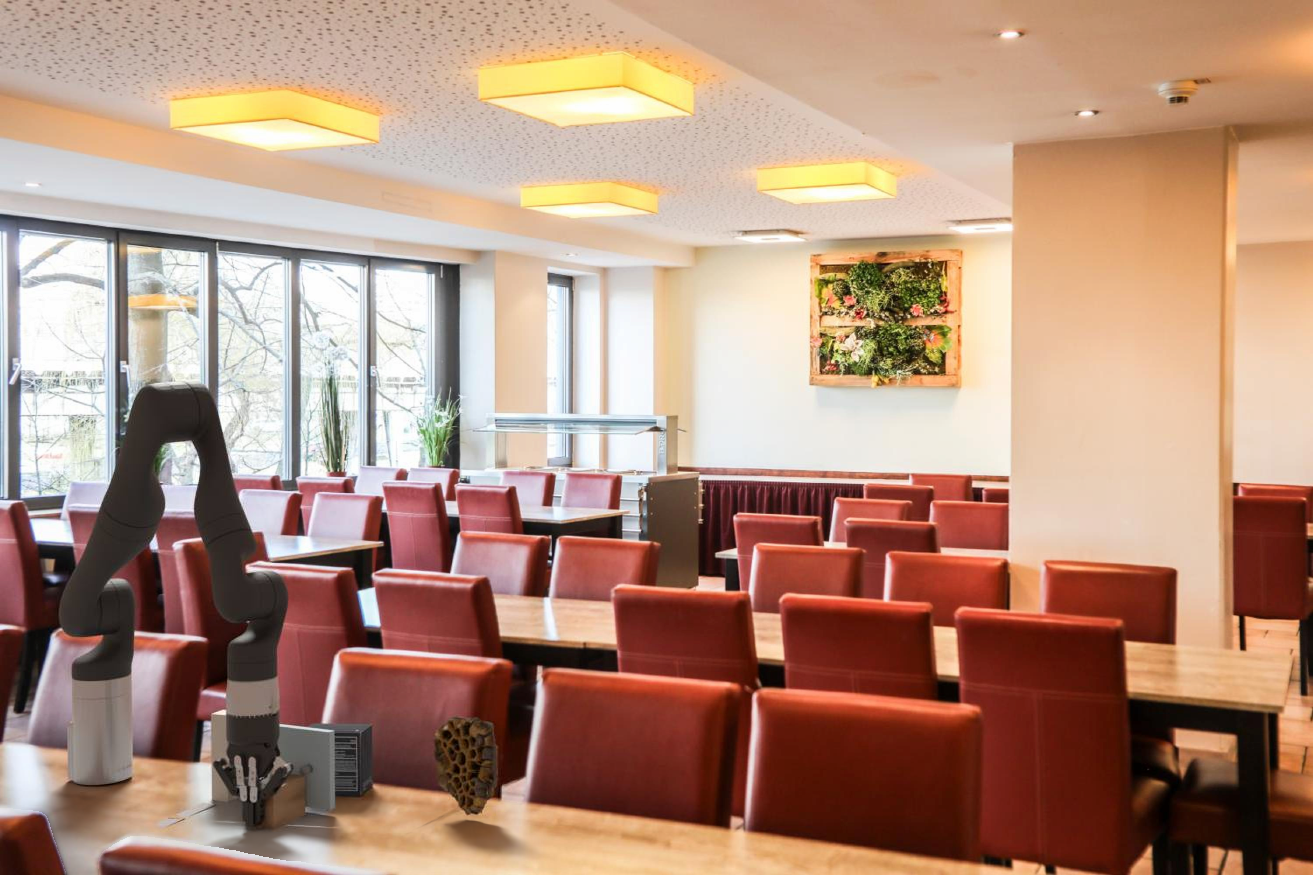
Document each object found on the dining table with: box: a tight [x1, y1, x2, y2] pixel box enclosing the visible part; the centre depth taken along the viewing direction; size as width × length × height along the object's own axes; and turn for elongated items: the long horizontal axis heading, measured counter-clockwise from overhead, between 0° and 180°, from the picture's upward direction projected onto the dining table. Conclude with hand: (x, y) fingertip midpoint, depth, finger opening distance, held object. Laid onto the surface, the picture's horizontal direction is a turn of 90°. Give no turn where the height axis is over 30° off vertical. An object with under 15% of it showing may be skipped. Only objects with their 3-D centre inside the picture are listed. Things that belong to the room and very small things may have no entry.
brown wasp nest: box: [433, 716, 499, 816], centre depth 195 cm, size 11×4×15 cm, turn 74°
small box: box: [306, 722, 374, 797], centre depth 208 cm, size 11×6×10 cm, turn 84°
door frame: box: [154, 709, 238, 828], centre depth 197 cm, size 3×32×14 cm, turn 162°
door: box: [270, 723, 336, 811], centre depth 198 cm, size 3×18×12 cm, turn 66°
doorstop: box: [255, 774, 307, 831], centre depth 192 cm, size 5×8×6 cm, turn 161°
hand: (253, 824), depth 187 cm, fingers closed
